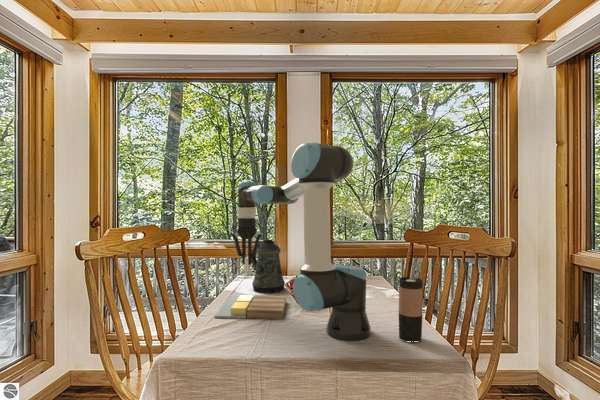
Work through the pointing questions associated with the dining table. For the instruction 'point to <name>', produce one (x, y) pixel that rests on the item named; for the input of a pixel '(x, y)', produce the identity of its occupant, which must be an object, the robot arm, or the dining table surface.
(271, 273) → the beer stein
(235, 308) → the mustard tile
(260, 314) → the walnut deck
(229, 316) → the slate mat
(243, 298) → the ivory tile
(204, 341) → the dining table surface
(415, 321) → the travel mug
